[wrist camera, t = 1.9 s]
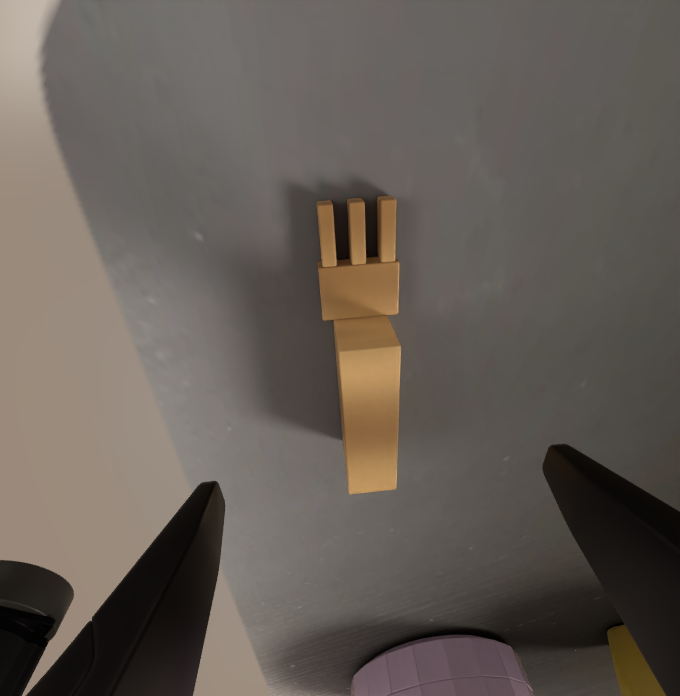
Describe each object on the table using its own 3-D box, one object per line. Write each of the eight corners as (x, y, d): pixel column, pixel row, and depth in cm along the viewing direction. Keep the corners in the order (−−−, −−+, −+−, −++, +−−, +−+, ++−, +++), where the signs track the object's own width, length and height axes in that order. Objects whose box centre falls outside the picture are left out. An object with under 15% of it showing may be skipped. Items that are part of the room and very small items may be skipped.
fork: (391, 436, 18) (405, 488, 15) (334, 442, 17) (339, 495, 15) (396, 194, 12) (421, 211, 9) (311, 201, 12) (313, 220, 9)
